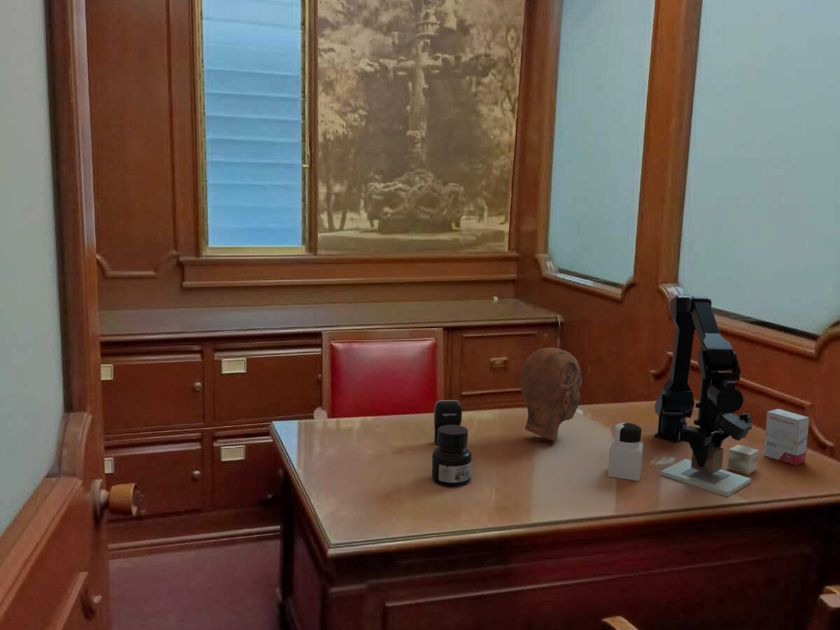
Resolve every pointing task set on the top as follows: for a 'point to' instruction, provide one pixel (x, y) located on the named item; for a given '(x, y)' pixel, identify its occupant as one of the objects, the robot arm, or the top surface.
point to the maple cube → (743, 459)
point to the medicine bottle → (626, 452)
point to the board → (706, 478)
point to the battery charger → (446, 415)
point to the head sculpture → (550, 390)
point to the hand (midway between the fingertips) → (706, 464)
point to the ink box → (786, 436)
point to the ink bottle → (452, 456)
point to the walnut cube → (710, 460)
